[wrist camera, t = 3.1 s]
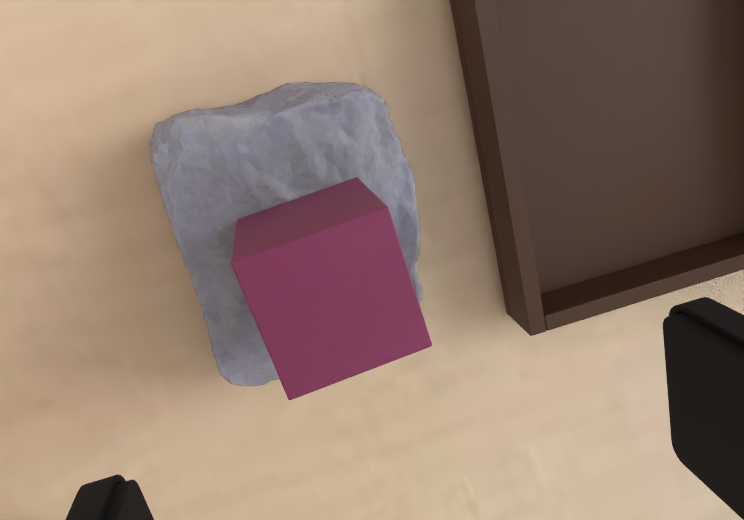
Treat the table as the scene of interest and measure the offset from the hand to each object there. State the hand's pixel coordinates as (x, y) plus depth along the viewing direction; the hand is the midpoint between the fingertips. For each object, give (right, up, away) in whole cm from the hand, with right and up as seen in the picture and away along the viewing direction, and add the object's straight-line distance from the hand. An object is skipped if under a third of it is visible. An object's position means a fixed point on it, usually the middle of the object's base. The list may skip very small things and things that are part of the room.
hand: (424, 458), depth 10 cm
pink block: (-3, +4, +13) cm, 14 cm away
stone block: (-4, +5, +17) cm, 18 cm away
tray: (+11, +10, +18) cm, 23 cm away
